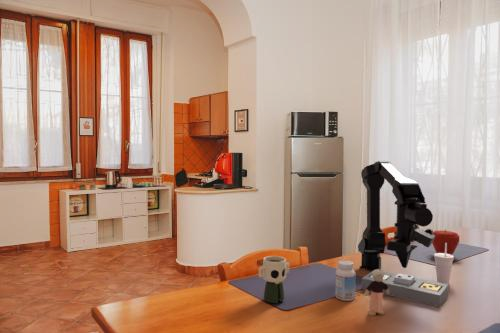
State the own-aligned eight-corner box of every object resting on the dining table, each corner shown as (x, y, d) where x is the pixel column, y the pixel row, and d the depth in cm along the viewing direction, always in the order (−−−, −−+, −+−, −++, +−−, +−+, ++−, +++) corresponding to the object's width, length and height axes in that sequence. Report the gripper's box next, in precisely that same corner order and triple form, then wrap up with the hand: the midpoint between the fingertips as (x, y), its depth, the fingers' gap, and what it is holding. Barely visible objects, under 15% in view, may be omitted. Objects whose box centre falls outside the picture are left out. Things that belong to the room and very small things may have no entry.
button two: (394, 284, 129) (394, 276, 128) (398, 280, 133) (399, 272, 132) (410, 288, 126) (410, 279, 125) (414, 283, 130) (414, 275, 129)
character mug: (264, 308, 115) (264, 264, 114) (252, 299, 121) (253, 258, 121) (295, 301, 120) (296, 259, 119) (282, 293, 126) (283, 253, 126)
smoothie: (455, 286, 135) (457, 245, 134) (435, 284, 136) (436, 244, 135) (450, 280, 141) (451, 241, 140) (430, 278, 142) (432, 240, 142)
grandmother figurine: (371, 318, 109) (372, 272, 108) (361, 312, 113) (363, 268, 112) (392, 313, 112) (393, 269, 112) (383, 308, 116) (384, 265, 115)
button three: (419, 294, 124) (420, 286, 124) (424, 290, 128) (424, 282, 128) (437, 298, 121) (437, 290, 121) (440, 294, 125) (441, 285, 125)
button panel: (361, 288, 132) (361, 278, 132) (374, 279, 141) (374, 269, 141) (439, 306, 117) (440, 295, 117) (448, 295, 127) (448, 284, 126)
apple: (459, 255, 174) (460, 228, 173) (457, 261, 165) (458, 232, 164) (432, 251, 180) (433, 225, 179) (428, 257, 171) (429, 229, 170)
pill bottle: (355, 295, 126) (356, 260, 125) (354, 302, 120) (355, 266, 119) (336, 293, 127) (337, 258, 127) (334, 300, 122) (334, 264, 121)
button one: (370, 283, 134) (370, 275, 133) (375, 279, 138) (375, 272, 137) (384, 287, 130) (384, 279, 130) (389, 283, 134) (389, 275, 134)
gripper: (424, 228, 116) (423, 280, 117) (439, 219, 131) (437, 265, 131) (386, 223, 123) (385, 272, 123) (404, 215, 137) (403, 259, 138)
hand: (404, 267), depth 129 cm, fingers closed
